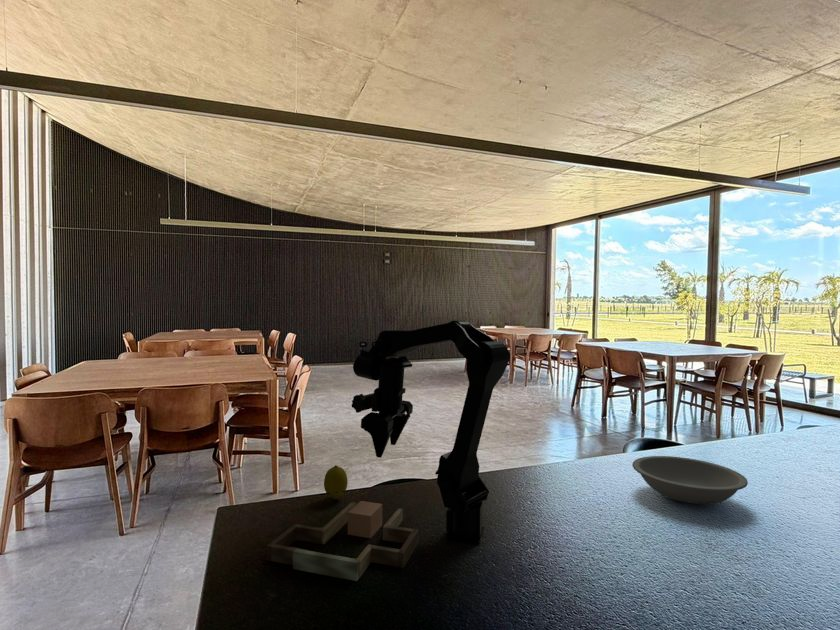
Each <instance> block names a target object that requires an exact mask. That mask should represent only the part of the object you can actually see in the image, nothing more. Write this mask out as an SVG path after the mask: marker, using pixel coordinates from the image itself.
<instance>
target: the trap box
mask: <svg viewBox="0 0 840 630" xmlns="http://www.w3.org/2000/svg"><path fill="white" fill-rule="evenodd" d="M356 505H357V503H356V502H353V501H351V502H350V503H349V504H348V505H346V506H345V507H344V508H343V509H342V510H341V511H340V512H339V513H338V514H336V515H335V516H334V517H333V518H332V519H330V521H328V522H327V523H326V524H325V525H324V526H323V527H316V526H311V525H304V524H300V523H299V524H298V523H294V524H293V525H291V527H289V528H288V529H287V530H285V531H283V532H282V533H281V534H280V535H279V536H277V537H276V538H275V539H274V540H272V541H271V542H270V543H269V544H267V545H266V561H268V562H274V563H279V564H285V565H290V566H292V569H293V570H296V571H297V570H298V571H302V572H307V573H313V574H317V575H323V576H327V577H328V576H329V577H333V578H338V579H345V580H350V581H354V582H358V580H359V579H360V578H361V577H362V575H363V574H364V573H365V571H366V570H367V568H369V566H370V565H371V563H375V564H380V565H385V566H389V567H390V566H391V567H396V568H402V569H404V568H405V566H406V564H407V563H408V561H409V560H410V558H411V557H412V555H413V553H414V551H415V550H416V548H417V547H418V545H419V543H420V542H419V538H420V535H419V533H420V529H416V528H409V527H401V526H400V525H401V524H402V522H404V520H403V518H404V515H403V514H404V509H403V508H399V507H398V508H397V509H396V511H395V512H394V513H393V514H392V515H391V517H390V518H389V519H388V520H387V521H386V523H385V524H384V525H382V541H387V542H393V543H399V544H402V546H401V548H400V549H398V548H394V547H393V548H392V547H387V546H382V545H381V546H380V545H374V544H369V543H368V544H367V545H366V547H365V548H364V549H363V550H362V552H361V553H360V554H359V555H358V556H357V557H356V558H353V557H352V558H351V557H347V556H343V555H342V556H341V555H335V554H331V553H326V552H325V553H324V552H317V551H312V550H309V549H308V550H307V549H303V548H298V547H292V546H291V545H292V544H293V543H294V542H295V541H300V542H301V541H302V542H308V543H314V544H318V545H319V544H320V545H325V544H326V543H327V542H329V540H330V539H331V538H332V537H333V536H335V535H336V533H338V532H339V531H340V530H341V529H342V527H344V526H345V525H346V524H348V512H349V511H350V510H351V509H352V508H353V507H354V506H356Z"/></svg>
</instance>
